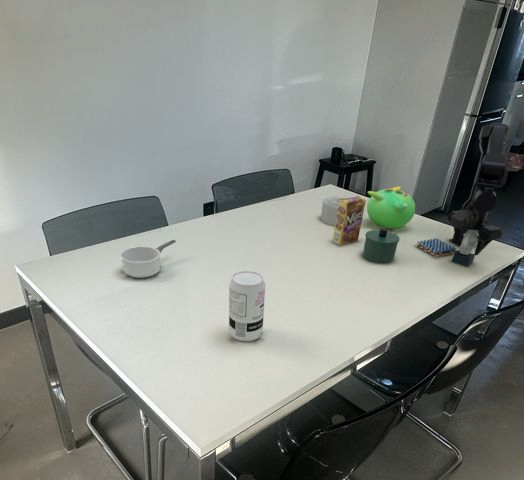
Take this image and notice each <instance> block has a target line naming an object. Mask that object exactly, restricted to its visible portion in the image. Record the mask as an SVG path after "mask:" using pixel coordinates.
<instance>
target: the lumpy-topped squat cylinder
mask: <svg viewBox="0 0 524 480" xmlns="http://www.w3.org/2000/svg"><path fill="white" fill-rule="evenodd" d="M346 198H347V197H346V196H342V197H340V198H339V197H338V196H335V195H334V196H331V197H327V198H324V199H323V200H322V204H321V205H322V207H321V214H320V221H322V222H323V223H324V224H327V225H330V226H334V227H335V225H336V219H337V213H338V207H339V202H340V199H346Z"/></svg>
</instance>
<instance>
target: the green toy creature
mask: <svg viewBox="0 0 524 480" xmlns="http://www.w3.org/2000/svg"><path fill="white" fill-rule="evenodd" d="M401 188H402V186H395V187H391V188H383V189H380V190H378V191H372V190H369V191H367V194H368V195H369V196H370V197H369V199H368V200H367V205H366V212H367V215H368V218H369V219H370V220H371V221H372V222H373V223H374V224H375V225H378V226H380V227H384V228H387V229H394V228H395V229H396V228H401V227H403V226H404V227H405V225H407V224H409V222H410V221H412V219H413V218H414V216H415V214H416V213H415V212H416V203H415V201H414V199H413V198H412V196H411V195H410V194H409V193H408V192H406V191H404V190H401Z"/></svg>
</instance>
